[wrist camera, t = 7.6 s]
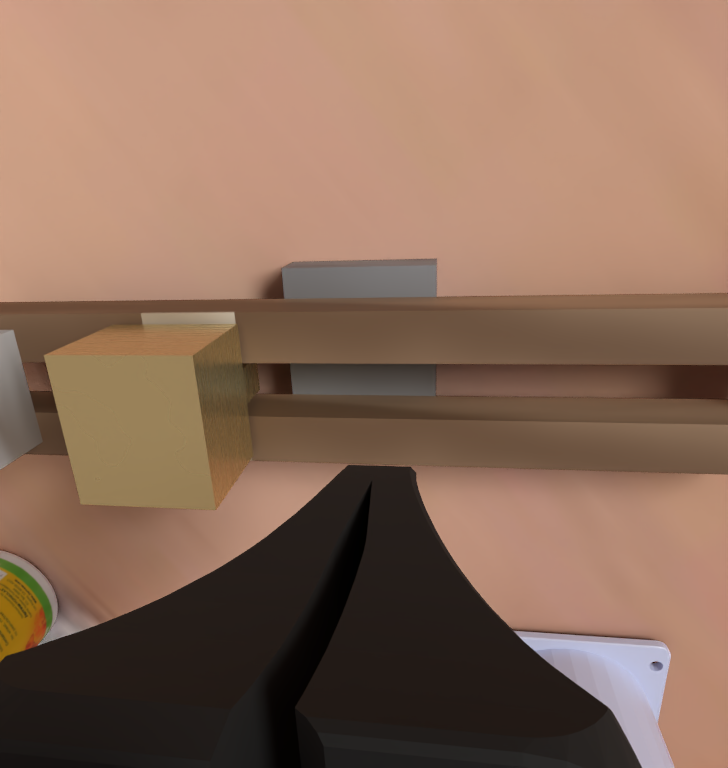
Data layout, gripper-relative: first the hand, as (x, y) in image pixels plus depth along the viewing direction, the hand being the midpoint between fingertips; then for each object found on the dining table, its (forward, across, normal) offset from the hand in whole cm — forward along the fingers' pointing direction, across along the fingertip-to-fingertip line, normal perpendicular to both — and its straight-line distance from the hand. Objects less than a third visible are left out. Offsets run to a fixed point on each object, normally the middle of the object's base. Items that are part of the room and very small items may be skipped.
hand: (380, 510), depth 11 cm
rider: (+8, +7, 0) cm, 11 cm away
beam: (+10, +2, 0) cm, 10 cm away
